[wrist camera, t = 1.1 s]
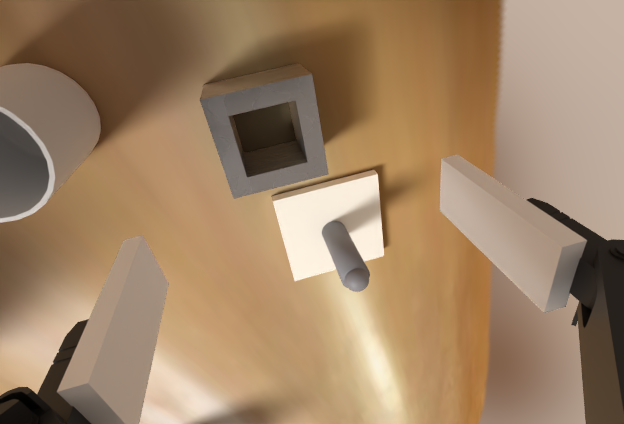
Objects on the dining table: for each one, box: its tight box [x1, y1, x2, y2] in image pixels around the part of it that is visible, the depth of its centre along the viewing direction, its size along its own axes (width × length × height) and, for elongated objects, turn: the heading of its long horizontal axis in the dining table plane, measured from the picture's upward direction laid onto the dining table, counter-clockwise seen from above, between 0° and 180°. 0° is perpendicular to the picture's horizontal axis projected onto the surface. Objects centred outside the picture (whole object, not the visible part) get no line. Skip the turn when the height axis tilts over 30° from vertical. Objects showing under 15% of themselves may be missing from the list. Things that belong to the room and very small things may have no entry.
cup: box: [0, 63, 101, 223], centre depth 22 cm, size 7×10×9 cm
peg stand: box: [272, 170, 384, 292], centre depth 32 cm, size 10×10×9 cm
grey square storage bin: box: [200, 63, 328, 198], centre depth 27 cm, size 7×7×5 cm
